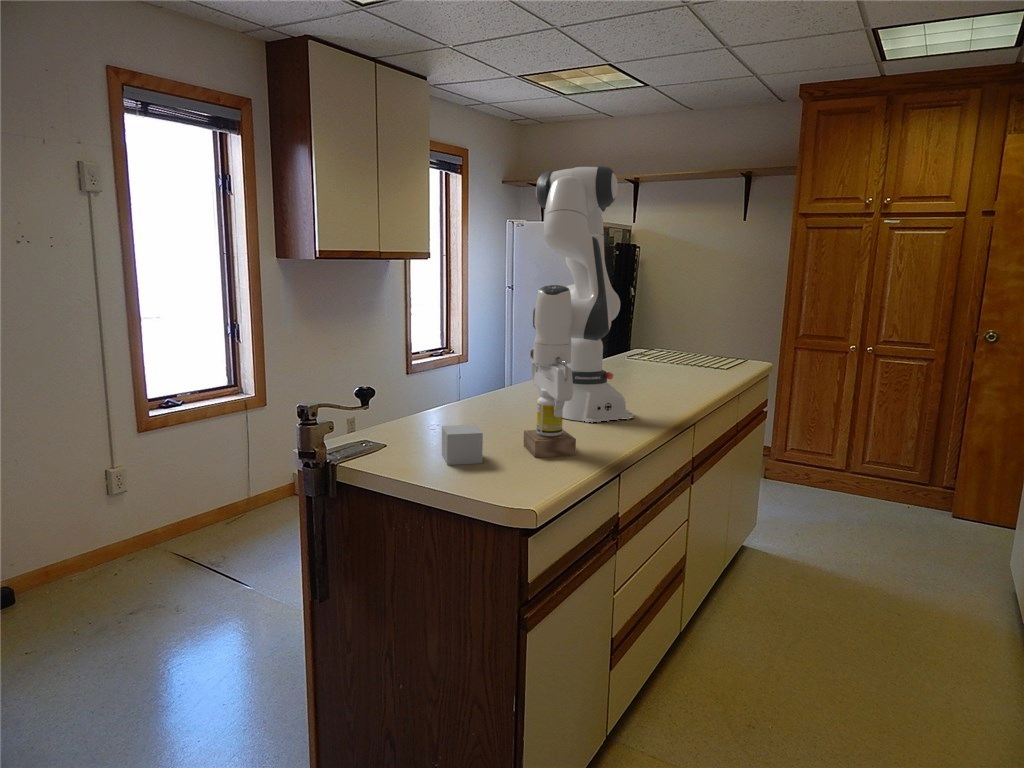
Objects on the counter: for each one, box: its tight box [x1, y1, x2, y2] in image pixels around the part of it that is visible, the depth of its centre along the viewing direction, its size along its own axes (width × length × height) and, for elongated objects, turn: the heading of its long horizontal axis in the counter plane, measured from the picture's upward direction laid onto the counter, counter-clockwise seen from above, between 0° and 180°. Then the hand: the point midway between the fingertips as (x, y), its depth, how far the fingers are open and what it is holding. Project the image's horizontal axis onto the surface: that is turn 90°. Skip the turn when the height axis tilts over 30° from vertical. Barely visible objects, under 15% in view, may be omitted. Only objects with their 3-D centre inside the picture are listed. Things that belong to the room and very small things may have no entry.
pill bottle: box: [536, 388, 563, 437], centre depth 159 cm, size 6×6×11 cm
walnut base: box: [523, 428, 577, 458], centre depth 160 cm, size 10×10×4 cm
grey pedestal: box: [441, 424, 484, 466], centre depth 151 cm, size 8×8×7 cm
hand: (551, 412), depth 159 cm, fingers open, 8 cm apart
